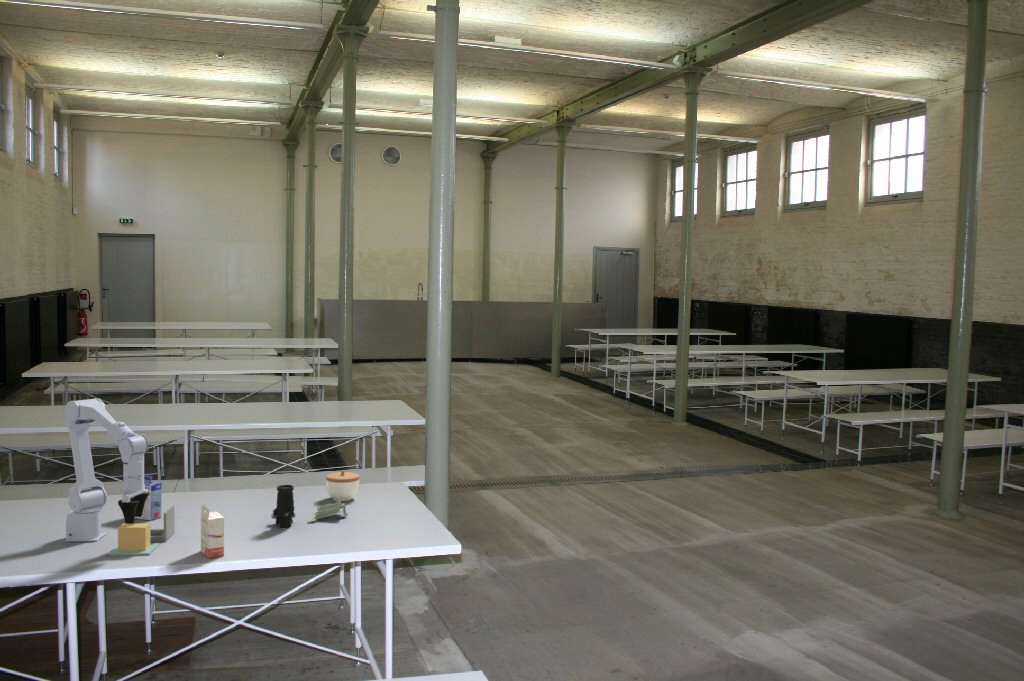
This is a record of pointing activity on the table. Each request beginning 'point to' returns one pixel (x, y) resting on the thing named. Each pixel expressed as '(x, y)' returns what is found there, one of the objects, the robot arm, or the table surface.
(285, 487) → the scope
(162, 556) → the table surface
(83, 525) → the robot arm
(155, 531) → the grey angular piece
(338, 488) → the lidded bowl
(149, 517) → the ink cartridge box
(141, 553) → the teal pad
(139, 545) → the orange rectangular block
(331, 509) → the metal bracket
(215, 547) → the ink cartridge box
